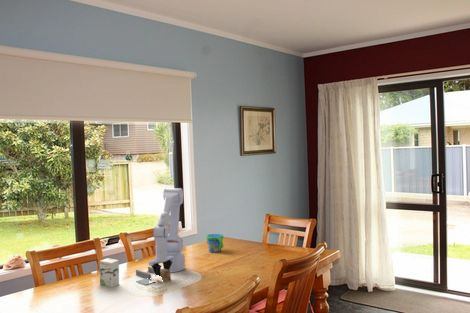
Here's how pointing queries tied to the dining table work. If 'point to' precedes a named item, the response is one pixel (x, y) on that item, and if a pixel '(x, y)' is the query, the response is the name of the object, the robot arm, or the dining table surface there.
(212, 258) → the dining table surface
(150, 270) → the channel
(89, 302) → the dining table surface
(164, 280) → the walnut block
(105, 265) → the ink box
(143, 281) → the pad
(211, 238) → the snack cup
